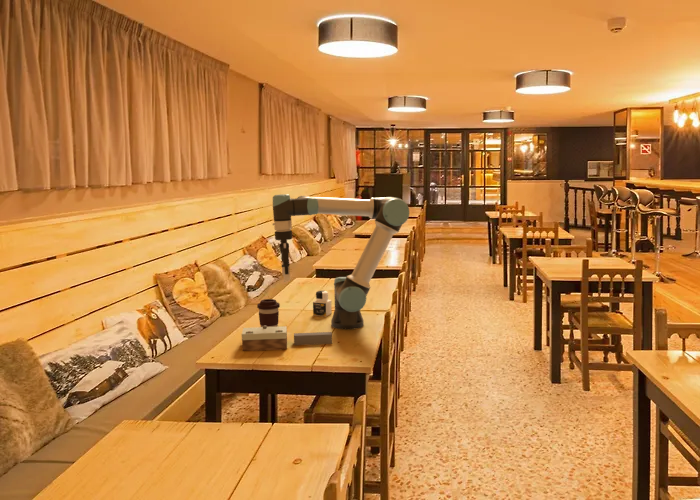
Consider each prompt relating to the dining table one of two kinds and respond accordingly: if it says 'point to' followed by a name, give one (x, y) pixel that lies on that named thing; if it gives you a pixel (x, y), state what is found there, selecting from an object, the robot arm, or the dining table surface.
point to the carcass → (264, 344)
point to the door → (264, 333)
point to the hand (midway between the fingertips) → (286, 278)
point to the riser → (312, 338)
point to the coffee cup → (268, 312)
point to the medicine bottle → (322, 304)
